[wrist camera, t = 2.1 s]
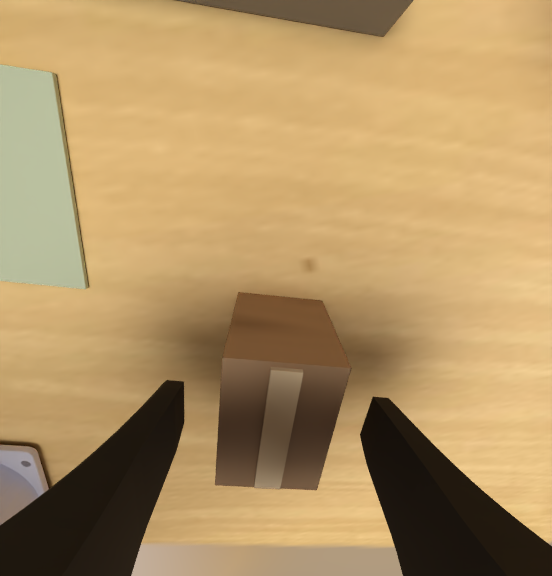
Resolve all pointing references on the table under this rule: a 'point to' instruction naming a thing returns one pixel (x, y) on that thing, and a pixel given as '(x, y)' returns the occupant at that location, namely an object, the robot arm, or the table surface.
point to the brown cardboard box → (278, 393)
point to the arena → (54, 154)
